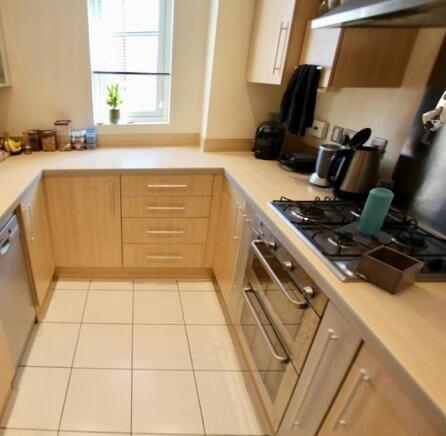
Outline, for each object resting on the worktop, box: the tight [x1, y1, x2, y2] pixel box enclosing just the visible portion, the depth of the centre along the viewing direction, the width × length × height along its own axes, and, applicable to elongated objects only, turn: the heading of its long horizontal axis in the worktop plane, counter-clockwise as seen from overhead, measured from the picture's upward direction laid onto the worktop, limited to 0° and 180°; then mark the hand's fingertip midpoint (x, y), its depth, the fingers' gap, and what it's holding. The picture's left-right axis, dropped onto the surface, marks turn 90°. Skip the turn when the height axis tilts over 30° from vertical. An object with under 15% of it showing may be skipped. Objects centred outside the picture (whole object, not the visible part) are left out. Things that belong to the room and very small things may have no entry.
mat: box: [332, 220, 393, 244], centre depth 109 cm, size 14×14×1 cm
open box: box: [355, 245, 425, 296], centre depth 87 cm, size 10×10×7 cm
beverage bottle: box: [357, 178, 395, 235], centre depth 105 cm, size 6×7×20 cm
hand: (443, 143), depth 94 cm, fingers open, 9 cm apart
